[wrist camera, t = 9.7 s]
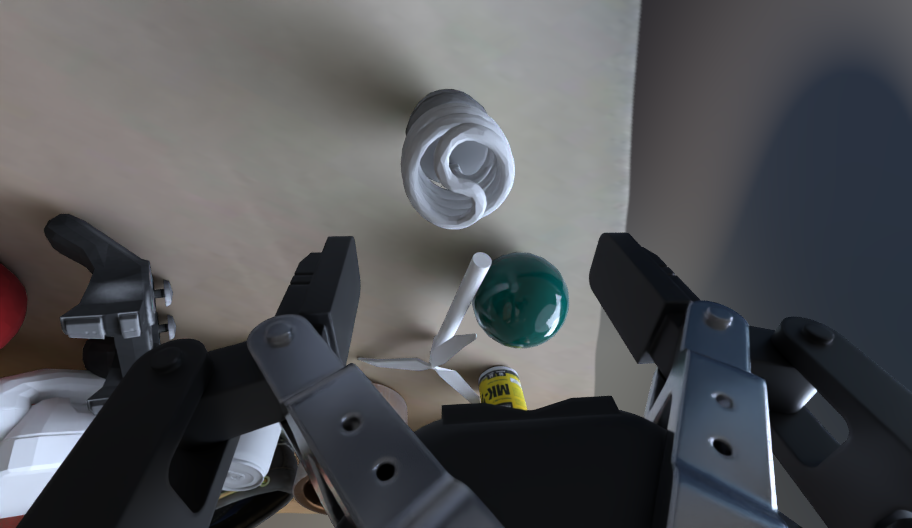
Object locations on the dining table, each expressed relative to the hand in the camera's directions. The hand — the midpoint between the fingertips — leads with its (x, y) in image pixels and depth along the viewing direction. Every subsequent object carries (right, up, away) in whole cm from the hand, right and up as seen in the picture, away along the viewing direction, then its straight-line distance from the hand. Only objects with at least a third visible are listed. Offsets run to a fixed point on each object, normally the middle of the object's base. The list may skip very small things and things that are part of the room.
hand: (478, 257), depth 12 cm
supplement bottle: (+4, -13, +31) cm, 34 cm away
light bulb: (-2, +10, +14) cm, 18 cm away
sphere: (+4, -1, +22) cm, 23 cm away
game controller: (-28, -3, +20) cm, 35 cm away
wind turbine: (+1, 0, +13) cm, 13 cm away
